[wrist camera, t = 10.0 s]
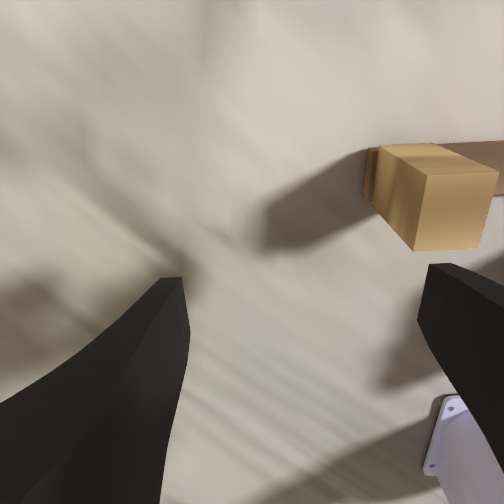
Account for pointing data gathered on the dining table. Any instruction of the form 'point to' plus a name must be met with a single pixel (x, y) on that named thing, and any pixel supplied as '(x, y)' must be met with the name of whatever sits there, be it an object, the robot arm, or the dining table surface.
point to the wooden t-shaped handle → (435, 191)
